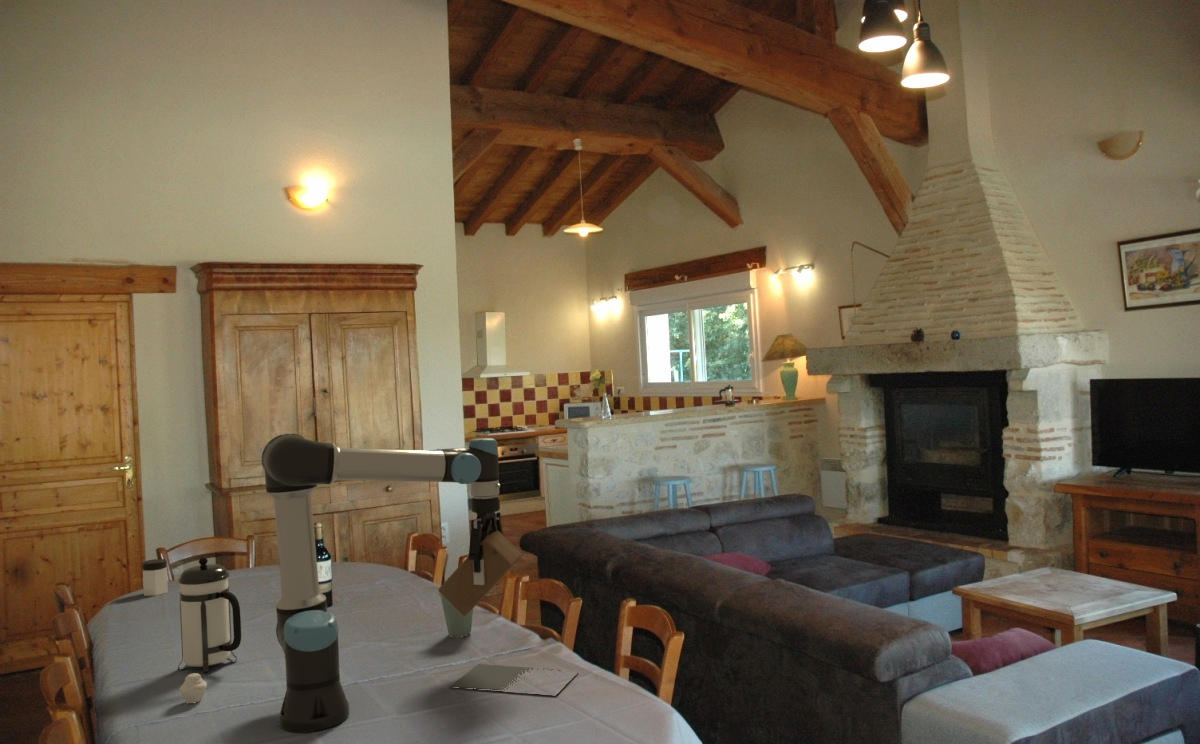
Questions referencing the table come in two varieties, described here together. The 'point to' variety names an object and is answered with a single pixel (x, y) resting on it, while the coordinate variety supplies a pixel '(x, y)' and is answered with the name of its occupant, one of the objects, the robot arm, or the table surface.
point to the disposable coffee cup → (456, 619)
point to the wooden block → (496, 565)
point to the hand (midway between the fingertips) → (488, 579)
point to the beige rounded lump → (193, 688)
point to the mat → (490, 677)
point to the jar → (154, 577)
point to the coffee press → (207, 616)
